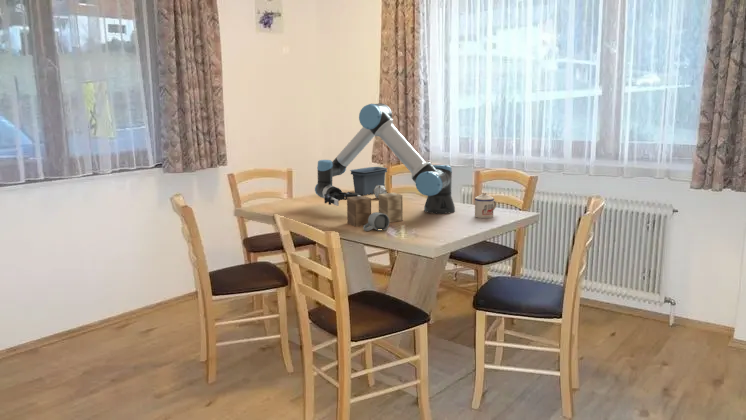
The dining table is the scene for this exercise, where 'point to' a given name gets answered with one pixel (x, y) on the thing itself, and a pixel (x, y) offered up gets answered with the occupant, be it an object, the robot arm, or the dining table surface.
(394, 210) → the oak cover
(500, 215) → the dining table surface
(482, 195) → the teacup with lid
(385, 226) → the ceramic mug
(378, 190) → the grey rounded piece
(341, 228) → the dining table surface
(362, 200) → the walnut cover
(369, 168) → the storage bin
